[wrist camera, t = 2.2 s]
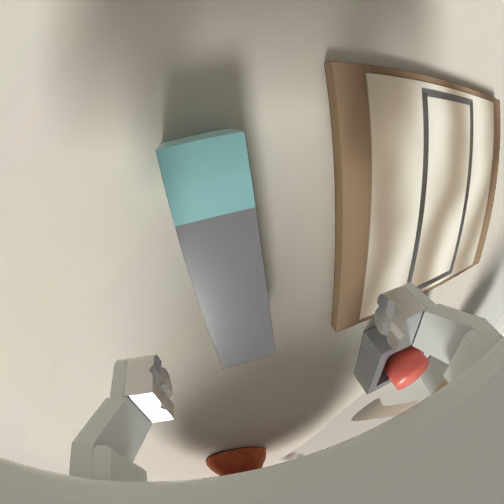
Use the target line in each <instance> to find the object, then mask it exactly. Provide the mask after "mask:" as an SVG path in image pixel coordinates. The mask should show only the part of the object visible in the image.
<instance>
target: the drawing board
mask: <svg viewBox="0 0 504 504" xmlns="http://www.w3.org/2000/svg"><path fill="white" fill-rule="evenodd" d="M324 65H325V72H326V79H327V87H328V96H329V105H330V115H331V126H332V139H333V154H334V174H335V212H336V236H335V275H334V296H333V311H332V324H331V326H332V327H333V329H334V330H335V332H338V331H341V330H343V329H346V328H348V327H351V326H353V325H356V324H358V323H361V322H363V321H365V320H368V319H370V318H372V317H374V315H375V311H376V309H377V308H378V307H379V305H378V304H377V299H378V296H379V295H380V294H382V293H385V292H387V291H390V290H392V289H395V288H397V287H400V286H402V285H405V284H407V283H413V284H414V285H415V286H416V287H417V288H419V289H420V290H421V291H422V292H423V293H426V292H428V291H429V290H431V289H433V288H435V287H437V286H439V285H441V284H443V283H445V282H446V281H448V280H450V279H452V278H454V277H455V276H457V275H459V274H461V273H462V272H464V271H466V270H467V269H469V268H471V267H473V266H474V265H476V264H477V263H479V260H480V257H481V253H482V250H483V246H484V243H485V239H486V235H487V231H488V226H489V222H490V217H491V212H492V207H493V201H494V195H495V189H496V181H497V173H498V163H499V150H500V100H498V99H496V98H493V97H491V96H489V95H486V94H483V93H481V92H478V91H475V90H473V89H470V88H467V87H464V86H461V85H458V84H455V83H451V82H448V81H445V80H441V79H437V78H434V77H430V76H426V75H422V74H417V73H413V72H408V71H403V70H398V69H392V68H386V67H380V66H372V65H365V64H355V63H345V62H329V63H325V64H324Z"/></svg>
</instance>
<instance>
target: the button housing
mask: <svg viewBox="0 0 504 504" xmlns="http://www.w3.org/2000/svg"><path fill="white" fill-rule="evenodd" d="M420 351H421V350H420ZM421 352H422V353H423V354H424V352H423V351H421ZM394 353H395V351H394V350H393V349H392V347H391V346H390V345H389V344H388V342H387V336H385V335H383V334H381V333H380V332H379V331H378V329H377V327H376V326H375V327H373V328H371V329H368V330H366V331H364V334H363V339H362V343H361V348H360V352H359V356H358V360H357V364H356V368H355V372H354V375H355V376H356V378H357V380H358V381H359V383H360V384H361V386H362V387H363V389H364V391H365V392H366V394H369V393H371V392H373V391H375V390H377V389H379V388H381V387H383V386H384V385H386V384H388V383H390V382H392V381H391V380H390V379H389V377H388V376H387V375H386V373H385V372H384V370H383V368H384V366H385V363H386V361H387V359H388V358H389V357H390V356H391V355H392V354H394Z"/></svg>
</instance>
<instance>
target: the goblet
mask: <svg viewBox="0 0 504 504" xmlns="http://www.w3.org/2000/svg"><path fill="white" fill-rule="evenodd" d="M265 458H266V451H265V449H264V448H262V447H246V448H238V449H233V450H229V451H225V452H222V453H218V454H215V455H212V456H211V457H209V458H208V459H207V461H206V464H207V466H208V467H209V468H210V469H211V470H212V471H214V472H215V473H217V474H218V475H220V476H223V475H229V474H235V473H241V472H246V471H250V470H255V469H259V468H262V466H263V463H264V461H265Z"/></svg>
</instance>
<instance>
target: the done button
mask: <svg viewBox="0 0 504 504" xmlns="http://www.w3.org/2000/svg"><path fill="white" fill-rule="evenodd" d="M428 365H429V360H428V359H427V358H426V356H425V355H424V354H423V353H422V352H421V351H420V350H419V349H417V348H415V347H413V346H412V345H411V346H409V347H407V348H405V349H402V350H400V351H398V352H395V353H394V354H392V355H391V356H390V357H389V358H388V359H387V361H386V363H385V366H384V368H383V370H384V372H385V373H386V375H387V376H388V377H389V379H390V380H391V381H392V383H393V384H394V386H395V387H396V388H397V389H398V390H400V389H403V388H405V387H407V386H409V385H410V384H411V383H413V382H414V381H415V380H416V379H418V378H419V377H420V376H421V375H422V374H423V373H424V371H425V370H426V369H427V367H428Z"/></svg>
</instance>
